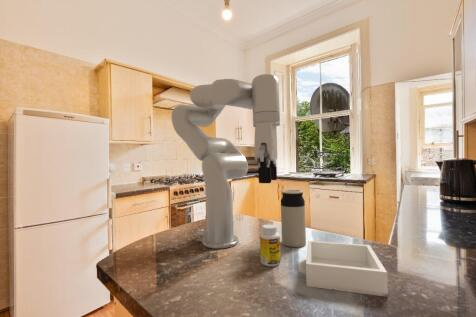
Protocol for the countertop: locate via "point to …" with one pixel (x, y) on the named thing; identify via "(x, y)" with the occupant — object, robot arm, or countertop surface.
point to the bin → (345, 268)
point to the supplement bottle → (269, 246)
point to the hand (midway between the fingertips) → (268, 181)
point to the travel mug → (293, 218)
